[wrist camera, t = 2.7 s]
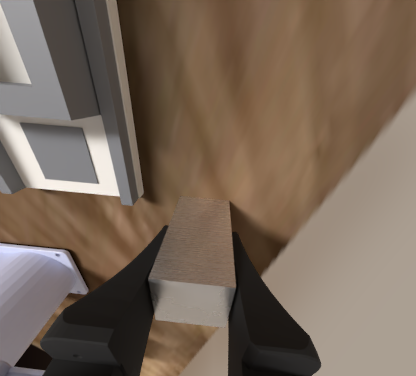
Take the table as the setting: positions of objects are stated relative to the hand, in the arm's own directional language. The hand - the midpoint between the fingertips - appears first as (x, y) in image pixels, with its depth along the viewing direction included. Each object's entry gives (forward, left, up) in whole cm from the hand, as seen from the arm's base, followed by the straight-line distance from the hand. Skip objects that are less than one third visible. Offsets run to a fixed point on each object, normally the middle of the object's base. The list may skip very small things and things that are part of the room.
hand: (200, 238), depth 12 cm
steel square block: (0, 0, -2) cm, 2 cm away
